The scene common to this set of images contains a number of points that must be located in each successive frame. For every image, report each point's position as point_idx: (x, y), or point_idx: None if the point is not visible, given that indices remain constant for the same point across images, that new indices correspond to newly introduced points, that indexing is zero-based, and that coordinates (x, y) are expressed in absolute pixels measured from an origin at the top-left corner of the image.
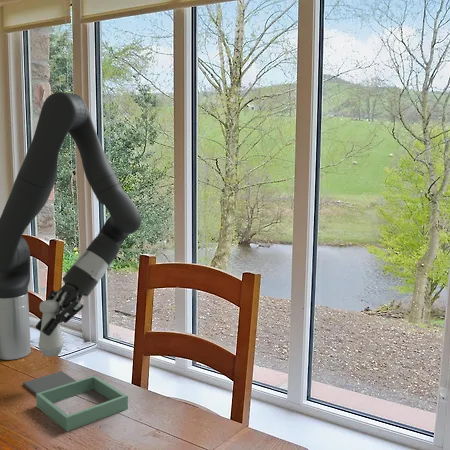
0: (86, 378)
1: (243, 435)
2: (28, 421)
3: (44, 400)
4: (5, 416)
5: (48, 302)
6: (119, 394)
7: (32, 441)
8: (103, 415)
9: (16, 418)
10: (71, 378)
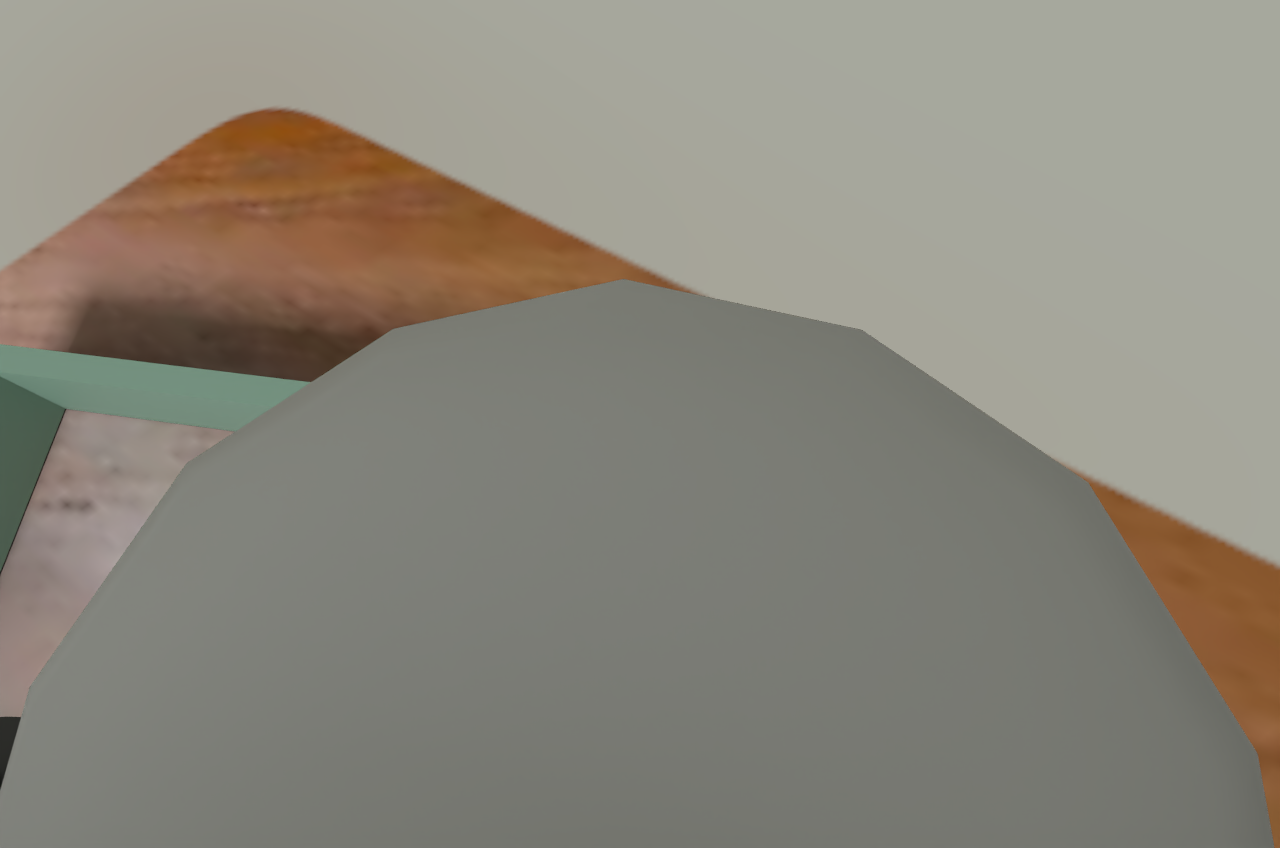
0: None
1: None
2: (367, 295)
3: (310, 382)
4: (553, 232)
5: (294, 660)
6: None
7: (161, 200)
8: None
9: (468, 264)
10: None
